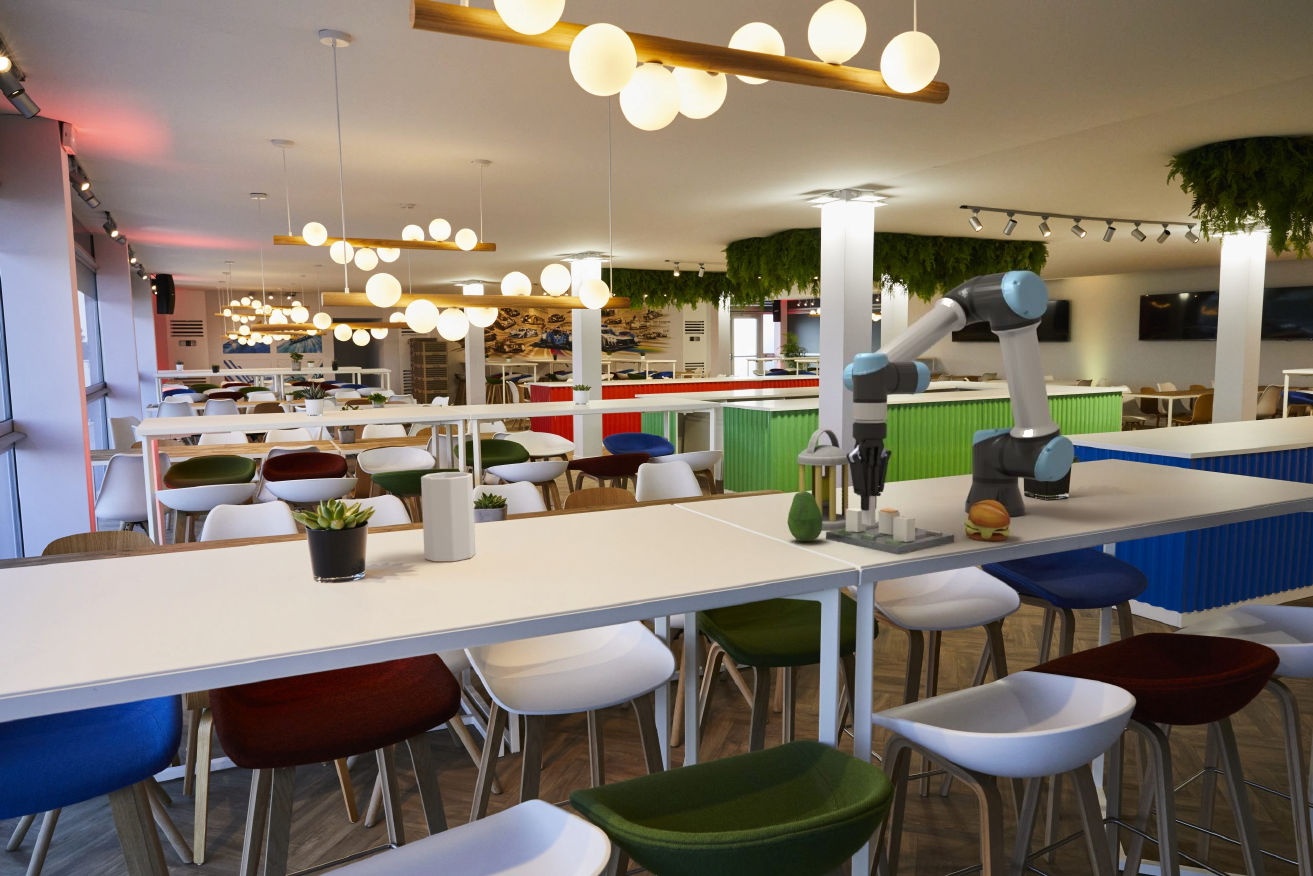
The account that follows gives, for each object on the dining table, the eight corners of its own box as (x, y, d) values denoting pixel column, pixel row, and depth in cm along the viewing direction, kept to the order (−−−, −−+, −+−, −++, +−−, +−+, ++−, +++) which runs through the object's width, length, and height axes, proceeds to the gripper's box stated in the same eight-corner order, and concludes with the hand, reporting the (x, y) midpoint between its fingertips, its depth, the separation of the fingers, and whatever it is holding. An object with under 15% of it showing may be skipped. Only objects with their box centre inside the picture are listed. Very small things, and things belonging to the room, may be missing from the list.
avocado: (795, 537, 199) (795, 487, 198) (826, 540, 195) (826, 489, 194) (782, 543, 192) (782, 492, 191) (815, 546, 188) (814, 494, 187)
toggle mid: (887, 530, 195) (887, 508, 195) (899, 533, 192) (899, 510, 192) (878, 532, 194) (878, 509, 193) (891, 534, 191) (891, 511, 190)
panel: (881, 527, 207) (881, 519, 207) (953, 541, 190) (954, 532, 190) (825, 538, 196) (825, 529, 196) (898, 554, 179) (898, 544, 179)
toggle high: (901, 537, 188) (901, 515, 187) (914, 540, 185) (915, 518, 184) (893, 539, 186) (893, 517, 185) (906, 542, 183) (906, 519, 182)
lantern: (827, 533, 203) (827, 431, 200) (784, 525, 214) (783, 429, 211) (863, 525, 212) (863, 428, 209) (819, 517, 222) (819, 425, 220)
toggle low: (854, 528, 199) (854, 507, 198) (865, 530, 196) (866, 509, 196) (845, 529, 197) (845, 509, 197) (857, 532, 194) (857, 511, 194)
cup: (422, 554, 188) (418, 473, 186) (472, 549, 192) (468, 470, 190) (427, 564, 178) (423, 479, 176) (479, 559, 182) (476, 476, 180)
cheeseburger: (1001, 532, 199) (1006, 494, 196) (1015, 552, 189) (1020, 513, 186) (958, 531, 200) (962, 493, 197) (970, 552, 190) (974, 512, 187)
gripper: (875, 419, 193) (874, 518, 195) (837, 421, 186) (836, 525, 188) (901, 420, 187) (900, 523, 189) (863, 423, 180) (862, 530, 182)
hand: (868, 524), depth 189 cm, fingers closed
